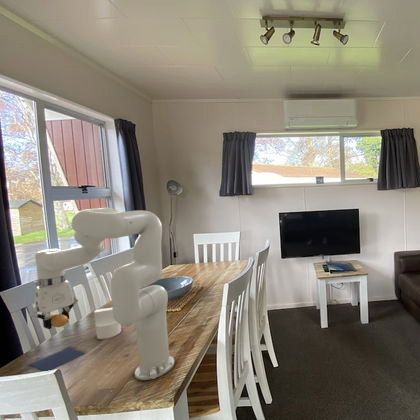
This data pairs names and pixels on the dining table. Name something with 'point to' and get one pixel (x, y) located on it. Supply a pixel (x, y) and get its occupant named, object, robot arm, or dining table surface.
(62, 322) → the bread roll
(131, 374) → the dining table surface
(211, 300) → the dining table surface
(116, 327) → the base with upright slab
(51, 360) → the napkin
